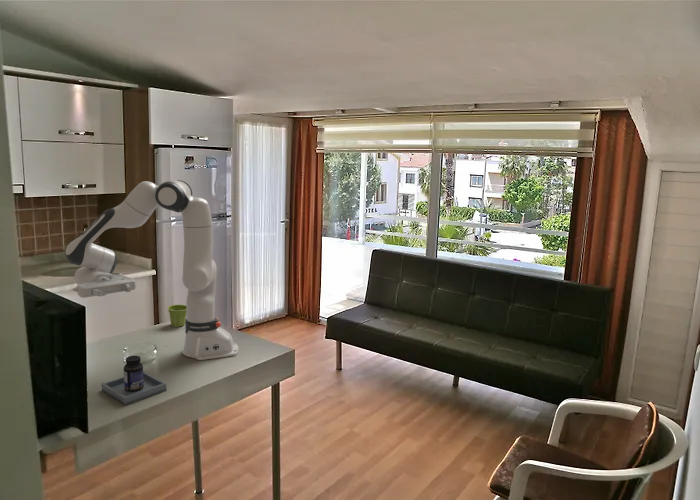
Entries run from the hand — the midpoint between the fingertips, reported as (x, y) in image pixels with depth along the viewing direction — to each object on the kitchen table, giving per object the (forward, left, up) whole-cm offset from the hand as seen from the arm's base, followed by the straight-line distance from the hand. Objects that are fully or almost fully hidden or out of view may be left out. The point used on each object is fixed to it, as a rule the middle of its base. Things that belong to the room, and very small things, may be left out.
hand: (116, 291), depth 186 cm
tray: (-8, +19, -30) cm, 36 cm away
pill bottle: (-7, +19, -29) cm, 36 cm away
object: (-20, -48, -30) cm, 60 cm away
